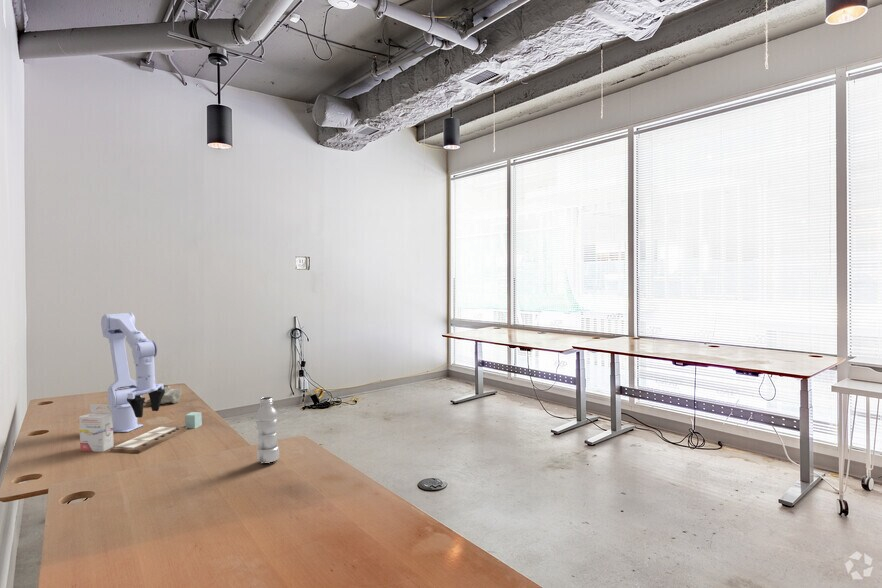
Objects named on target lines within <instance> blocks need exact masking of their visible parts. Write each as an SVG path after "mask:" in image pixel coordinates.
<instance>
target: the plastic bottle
mask: <svg viewBox="0 0 882 588" xmlns="http://www.w3.org/2000/svg"><path fill="white" fill-rule="evenodd" d="M273 398H274V397H272V396H266V397H261V398H260V399H259V406H260V407H259V409H258V411H256V414H255V422H256V427H257V435H258V436H257V437H258V440H257V441H258V442H257V450H256V457H257V462H259V463H260V462H263V463H265V462H272V461H275V460H277V461H278V460H279V457H280V448H279V444H278V437H277V436H278V435H277V426H278V417H279V415H278V414H279V413H278V411H277V410H276V408H275V407H274V406H273V405H274V400H273ZM275 462H276V461H275Z"/></svg>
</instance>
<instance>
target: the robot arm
mask: <svg viewBox="0 0 882 588" xmlns="http://www.w3.org/2000/svg"><path fill="white" fill-rule="evenodd" d="M100 320H101V321H100V325H101V332H102V335H103V338H106V339H108V343H109V348H110V354H111V362H112V367H113V373H114V374H113V375H114V382H113V383H112V384H110V385H109V387H108V389H107V402H108V405H111V411H112V420H113V433H114V432H115V433H129V432H131V431H133V430H136V429H138V428H141V427H143V426H144V424H143V423H141V424H140V423H138V418H139V419H140V418H143V416H144V404H145V403H144V402H145V401H146V398H145V397H143V395H147V394H148V397H149V399H150V401H151V405H150V407H151V411H152V412H159V410H160V405H161V404H160V402H161V399H162V397H163V395H164V393H165V390H161V389H164V385H165V384H164V382H162V383H159V382H158V383H156V370H155V369H156V368H155V367H156V365H155V357H157V354H158V346H157V343H156V341H155V340H151V339H148V338H147V337H146V335H145V334H144V333H143V331H141V330H140V329H139V330H137V328H136V316H135V315H134V313H133V312H131V311H130V312H123V313H109V314H107V313H104V314H103V315H102V316H101V319H100ZM125 341H126V343H127V344H128V345H129V347H130V348H131V355H132V358H133V364H135V380H134V379H132V378H131V375H130V369H129V362H128V356H127V349H126V343H125Z"/></svg>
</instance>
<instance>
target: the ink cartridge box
mask: <svg viewBox="0 0 882 588" xmlns="http://www.w3.org/2000/svg"><path fill="white" fill-rule="evenodd" d="M98 408H101V409H98ZM78 422H79V423H78V424H79V443H80V445H79V446H80V449H79V450H80V452H98V453H99V452H100V453H101V452H103V453H104V452H105V451H108V450H110V448H113V447H115V446H114V432H113V420H112V411H111V405H109V404H98V403H97V404H89V413H87V414H84V415H80V416H79V417H78Z"/></svg>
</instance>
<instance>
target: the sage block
mask: <svg viewBox="0 0 882 588" xmlns="http://www.w3.org/2000/svg"><path fill="white" fill-rule="evenodd" d="M184 417H185V418H184V420H185V421H184V422H185V428H187V429H197V428H199V427H201V426H202V425H203V420H202V418H203V415H202V412H199V411H198V412H196V411H195V412H194V411H191V412H189V413H187V414H185V415H184Z"/></svg>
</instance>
